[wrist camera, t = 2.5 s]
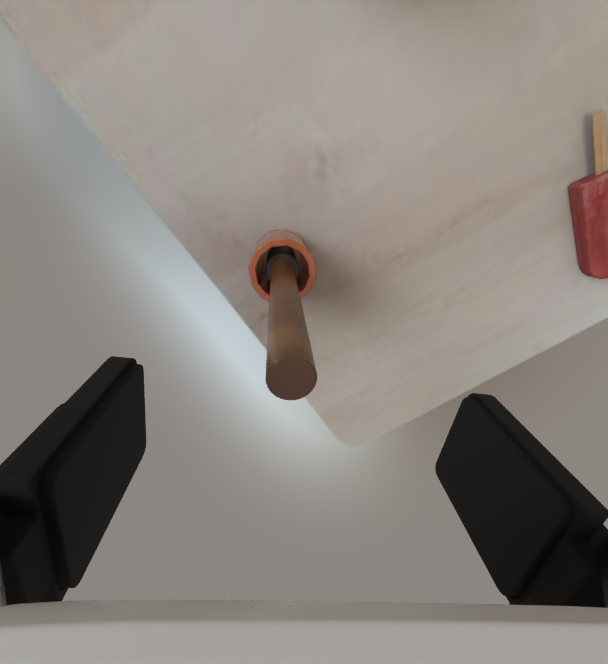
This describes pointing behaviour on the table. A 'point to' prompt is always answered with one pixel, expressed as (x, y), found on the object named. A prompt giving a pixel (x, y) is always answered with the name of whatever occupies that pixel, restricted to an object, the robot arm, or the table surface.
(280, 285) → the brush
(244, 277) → the table surface
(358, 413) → the table surface
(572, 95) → the table surface
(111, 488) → the robot arm
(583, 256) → the popsicle
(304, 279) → the pen cup
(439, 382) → the table surface
